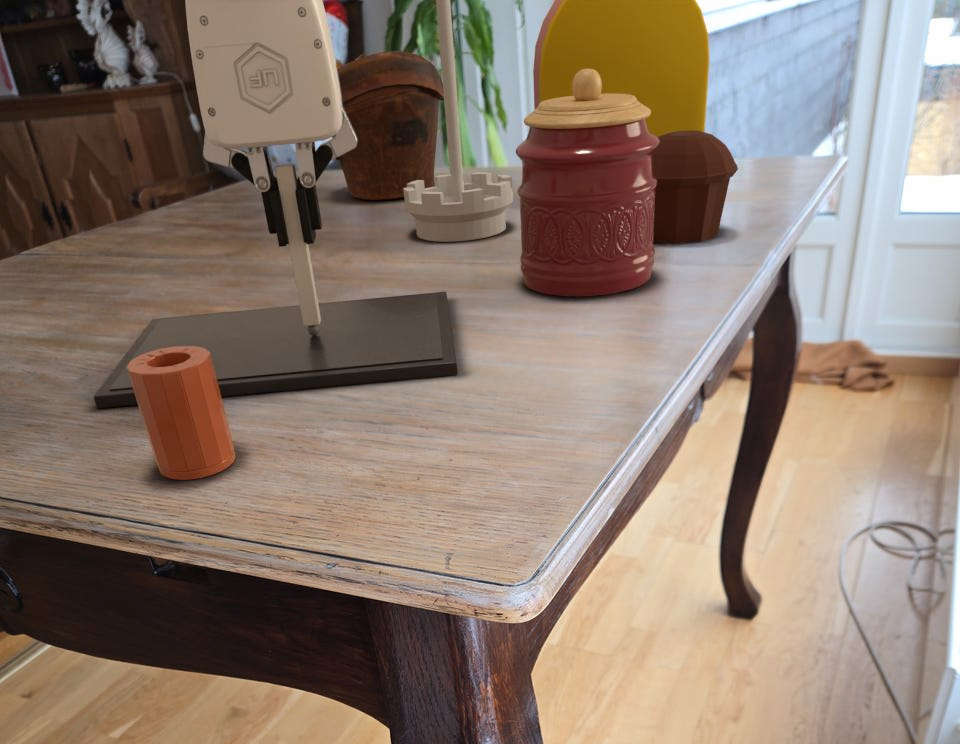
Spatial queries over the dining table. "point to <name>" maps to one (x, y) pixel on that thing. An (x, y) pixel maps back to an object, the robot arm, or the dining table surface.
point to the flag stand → (456, 173)
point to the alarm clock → (629, 56)
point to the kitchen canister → (587, 193)
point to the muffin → (690, 186)
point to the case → (390, 122)
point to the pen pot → (182, 411)
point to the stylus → (298, 248)
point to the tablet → (305, 346)
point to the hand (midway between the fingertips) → (297, 240)
